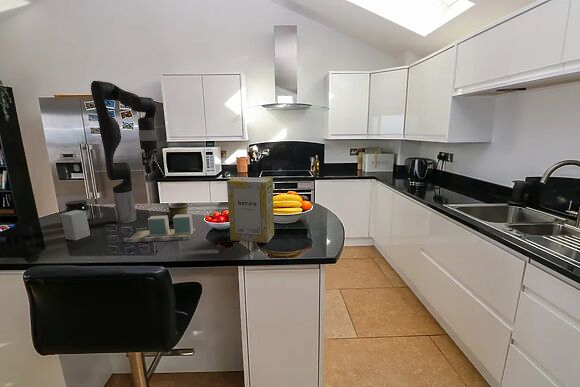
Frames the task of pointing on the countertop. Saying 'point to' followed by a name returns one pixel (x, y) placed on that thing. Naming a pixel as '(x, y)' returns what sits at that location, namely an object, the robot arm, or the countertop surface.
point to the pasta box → (251, 209)
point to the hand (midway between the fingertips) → (152, 172)
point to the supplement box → (75, 225)
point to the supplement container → (78, 207)
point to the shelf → (145, 237)
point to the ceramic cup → (178, 209)
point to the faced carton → (183, 224)
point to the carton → (158, 226)
